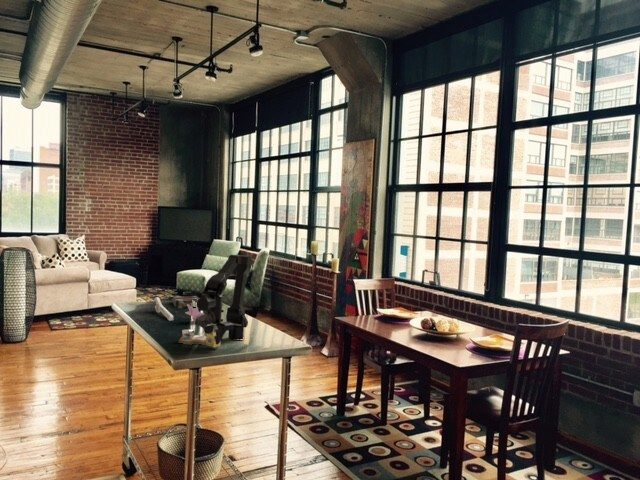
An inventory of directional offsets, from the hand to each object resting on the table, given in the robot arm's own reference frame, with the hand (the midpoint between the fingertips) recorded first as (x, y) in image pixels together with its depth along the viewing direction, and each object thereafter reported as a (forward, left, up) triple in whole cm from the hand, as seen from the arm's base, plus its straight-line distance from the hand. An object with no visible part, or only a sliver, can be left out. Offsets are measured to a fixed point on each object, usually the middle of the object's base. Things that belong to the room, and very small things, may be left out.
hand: (213, 343), depth 234 cm
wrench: (+37, -64, -3) cm, 74 cm away
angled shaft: (+13, -9, -1) cm, 16 cm away
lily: (+17, -49, -3) cm, 52 cm away
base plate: (+8, -10, -2) cm, 13 cm away
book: (+31, -95, -3) cm, 100 cm away
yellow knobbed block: (0, 0, -1) cm, 1 cm away
